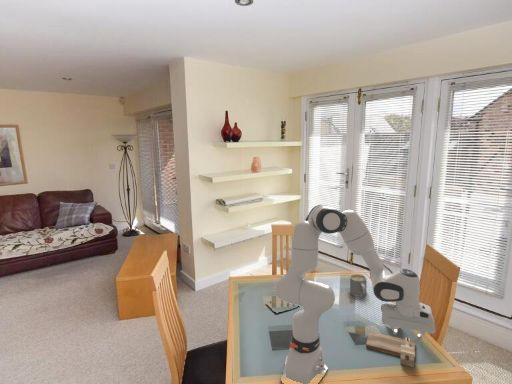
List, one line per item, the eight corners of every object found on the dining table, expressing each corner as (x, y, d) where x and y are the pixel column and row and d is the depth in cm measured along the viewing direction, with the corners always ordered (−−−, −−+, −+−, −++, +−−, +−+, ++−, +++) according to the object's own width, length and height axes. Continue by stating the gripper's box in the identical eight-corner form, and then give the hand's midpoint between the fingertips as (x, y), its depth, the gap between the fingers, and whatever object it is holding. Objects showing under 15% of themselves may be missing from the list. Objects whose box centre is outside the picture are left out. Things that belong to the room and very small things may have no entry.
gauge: (413, 369, 120) (414, 356, 119) (400, 365, 122) (400, 352, 122) (413, 346, 134) (413, 334, 133) (401, 343, 136) (401, 331, 135)
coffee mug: (348, 288, 192) (348, 274, 191) (364, 288, 191) (363, 274, 190) (353, 298, 179) (353, 283, 178) (370, 298, 178) (370, 283, 177)
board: (415, 360, 125) (415, 356, 125) (366, 348, 135) (366, 344, 134) (414, 345, 135) (414, 341, 134) (369, 334, 144) (369, 330, 144)
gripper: (380, 306, 123) (380, 335, 126) (436, 316, 114) (435, 347, 117) (381, 298, 129) (381, 326, 131) (434, 307, 120) (433, 337, 122)
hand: (407, 336), depth 124 cm, fingers open, 8 cm apart
